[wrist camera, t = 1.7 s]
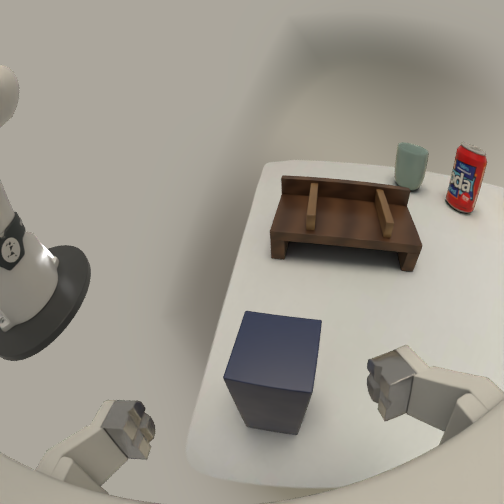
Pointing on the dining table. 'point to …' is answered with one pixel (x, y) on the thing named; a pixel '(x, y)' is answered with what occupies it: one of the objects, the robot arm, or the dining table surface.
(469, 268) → the dining table surface
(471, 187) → the soda can
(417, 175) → the cup
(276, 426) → the navy block
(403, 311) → the dining table surface
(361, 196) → the wooden divided tray
